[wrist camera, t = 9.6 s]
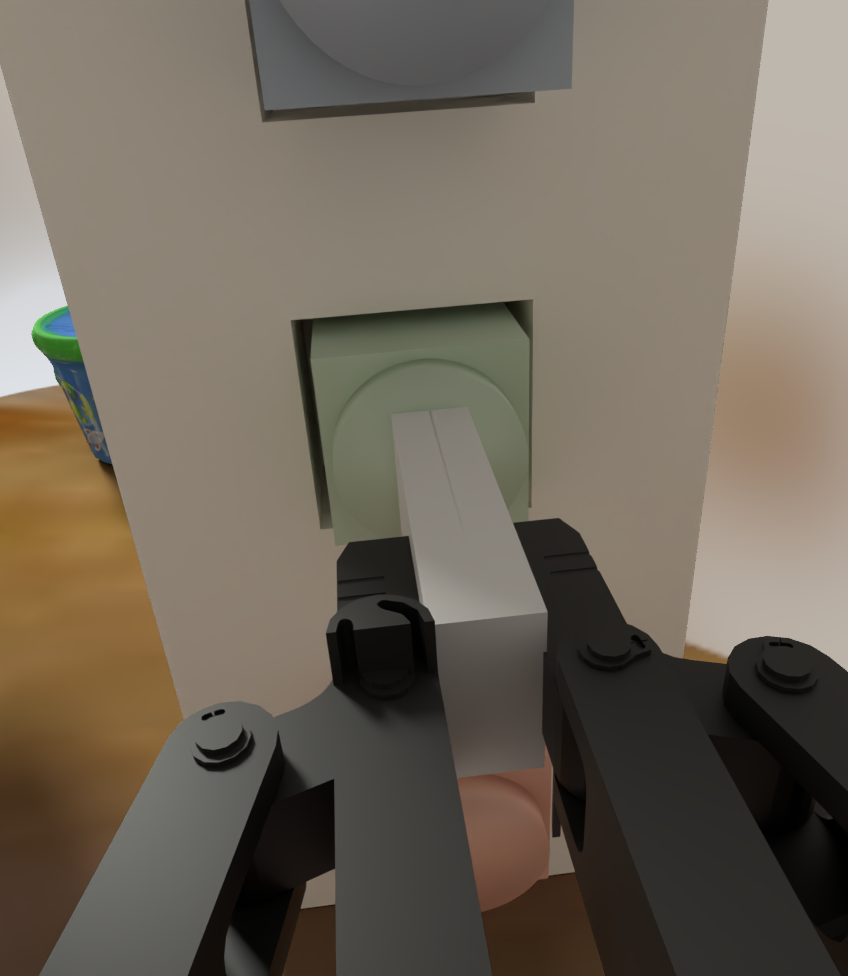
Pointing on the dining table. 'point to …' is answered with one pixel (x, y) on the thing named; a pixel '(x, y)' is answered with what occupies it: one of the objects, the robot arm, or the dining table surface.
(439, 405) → the sage button
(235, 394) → the button pillar
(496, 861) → the terracotta button
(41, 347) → the snack cup
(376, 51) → the slate button
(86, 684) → the dining table surface
